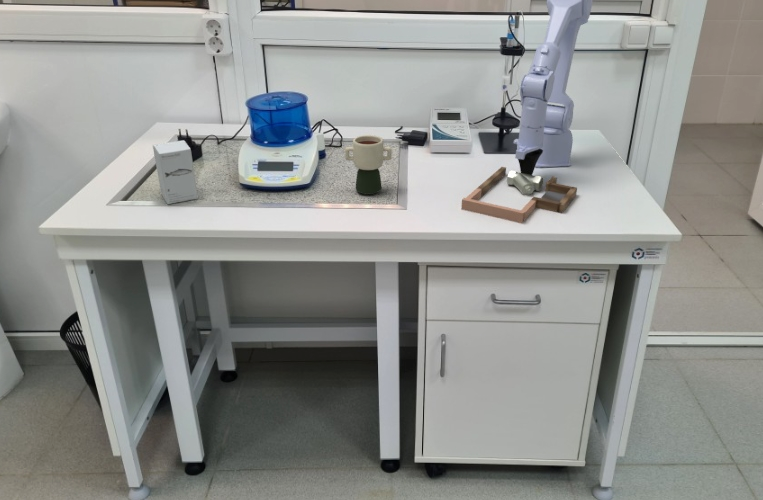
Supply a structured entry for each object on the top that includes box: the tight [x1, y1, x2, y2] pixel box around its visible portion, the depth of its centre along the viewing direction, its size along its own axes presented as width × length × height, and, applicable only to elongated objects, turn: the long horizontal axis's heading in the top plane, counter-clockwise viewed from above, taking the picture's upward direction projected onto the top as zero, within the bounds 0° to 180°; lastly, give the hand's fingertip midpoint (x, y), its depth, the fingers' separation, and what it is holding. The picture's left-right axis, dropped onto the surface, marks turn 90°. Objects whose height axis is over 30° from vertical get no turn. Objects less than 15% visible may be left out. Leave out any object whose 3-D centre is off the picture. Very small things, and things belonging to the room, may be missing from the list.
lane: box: [477, 166, 578, 214], centre depth 152 cm, size 16×20×2 cm
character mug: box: [344, 134, 392, 195], centre depth 150 cm, size 11×7×13 cm, turn 90°
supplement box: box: [152, 140, 199, 205], centre depth 148 cm, size 7×7×13 cm
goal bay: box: [460, 187, 536, 224], centre depth 144 cm, size 9×14×2 cm, turn 59°
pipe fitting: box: [506, 170, 544, 196], centre depth 153 cm, size 8×4×7 cm
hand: (526, 177), depth 158 cm, fingers closed
